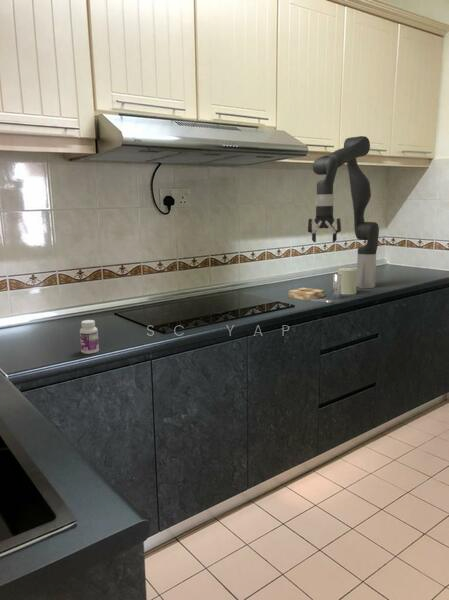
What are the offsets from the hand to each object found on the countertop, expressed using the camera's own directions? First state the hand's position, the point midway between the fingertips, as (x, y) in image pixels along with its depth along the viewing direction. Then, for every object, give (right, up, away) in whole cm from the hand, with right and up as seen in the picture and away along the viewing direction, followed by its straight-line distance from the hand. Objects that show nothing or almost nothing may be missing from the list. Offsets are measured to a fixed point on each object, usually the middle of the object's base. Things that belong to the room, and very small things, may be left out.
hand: (324, 242), depth 215 cm
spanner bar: (-1, -26, +2) cm, 27 cm away
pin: (+8, -25, +9) cm, 28 cm away
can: (+15, -22, +21) cm, 34 cm away
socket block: (-6, -24, +12) cm, 28 cm away
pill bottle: (-86, -42, -65) cm, 116 cm away
